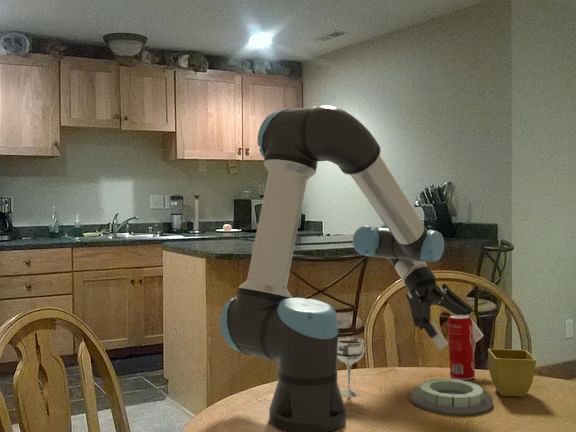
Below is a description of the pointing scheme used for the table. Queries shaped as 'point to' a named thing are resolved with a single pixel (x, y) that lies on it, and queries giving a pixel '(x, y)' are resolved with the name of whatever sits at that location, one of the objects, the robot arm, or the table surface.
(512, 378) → the flower pot
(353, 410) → the table surface
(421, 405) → the can tray
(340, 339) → the wineglass
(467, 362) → the beverage can
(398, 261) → the robot arm
